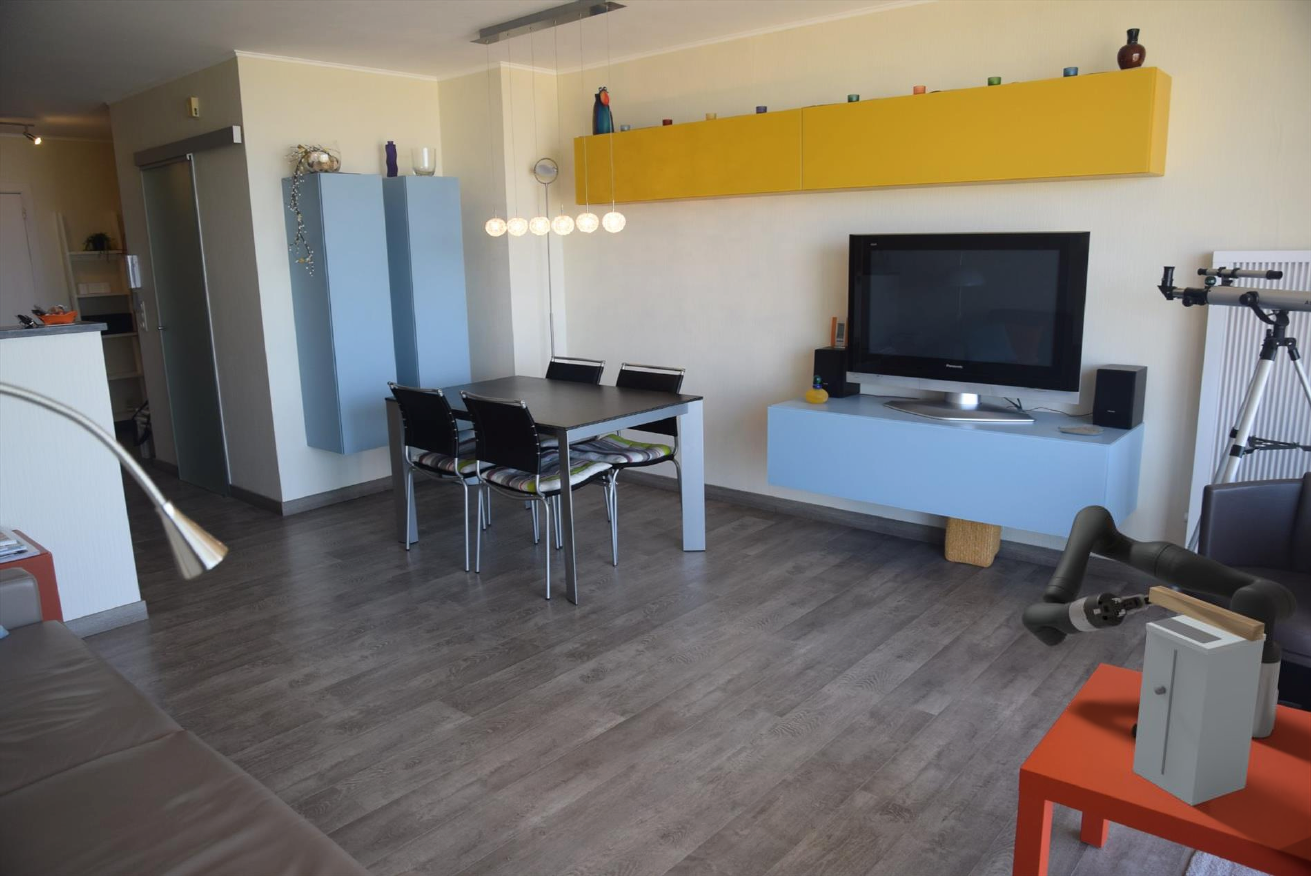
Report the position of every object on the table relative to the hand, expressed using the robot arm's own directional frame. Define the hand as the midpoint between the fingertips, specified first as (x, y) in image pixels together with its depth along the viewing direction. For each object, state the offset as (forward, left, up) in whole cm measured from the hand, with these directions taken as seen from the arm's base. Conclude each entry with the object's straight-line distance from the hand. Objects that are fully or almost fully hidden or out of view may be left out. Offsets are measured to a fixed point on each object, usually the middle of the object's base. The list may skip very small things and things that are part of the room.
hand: (1154, 598), depth 189 cm
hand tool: (-9, -5, -33) cm, 35 cm away
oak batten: (-1, +10, -1) cm, 10 cm away
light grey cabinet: (+3, +14, -33) cm, 36 cm away
